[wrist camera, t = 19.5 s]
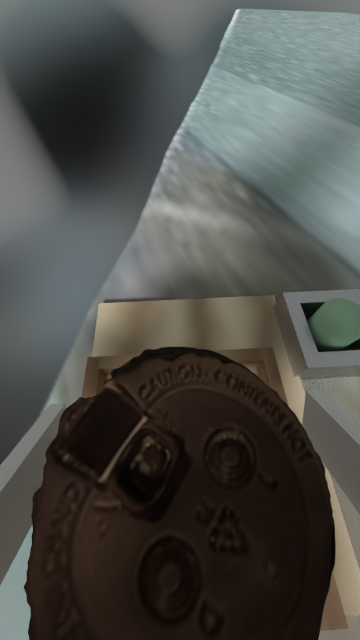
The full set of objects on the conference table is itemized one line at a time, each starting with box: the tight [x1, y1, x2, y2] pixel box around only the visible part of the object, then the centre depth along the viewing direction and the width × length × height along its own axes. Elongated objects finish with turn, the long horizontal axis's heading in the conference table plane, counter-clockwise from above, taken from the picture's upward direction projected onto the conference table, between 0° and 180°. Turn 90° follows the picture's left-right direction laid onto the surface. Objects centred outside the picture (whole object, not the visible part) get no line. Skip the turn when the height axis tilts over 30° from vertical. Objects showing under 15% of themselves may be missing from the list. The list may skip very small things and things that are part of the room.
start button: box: [307, 298, 360, 352], centre depth 19 cm, size 4×4×4 cm
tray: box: [82, 295, 360, 631], centre depth 18 cm, size 18×22×3 cm
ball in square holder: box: [273, 289, 360, 379], centre depth 21 cm, size 7×7×4 cm
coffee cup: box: [24, 347, 336, 640], centre depth 11 cm, size 9×8×13 cm
